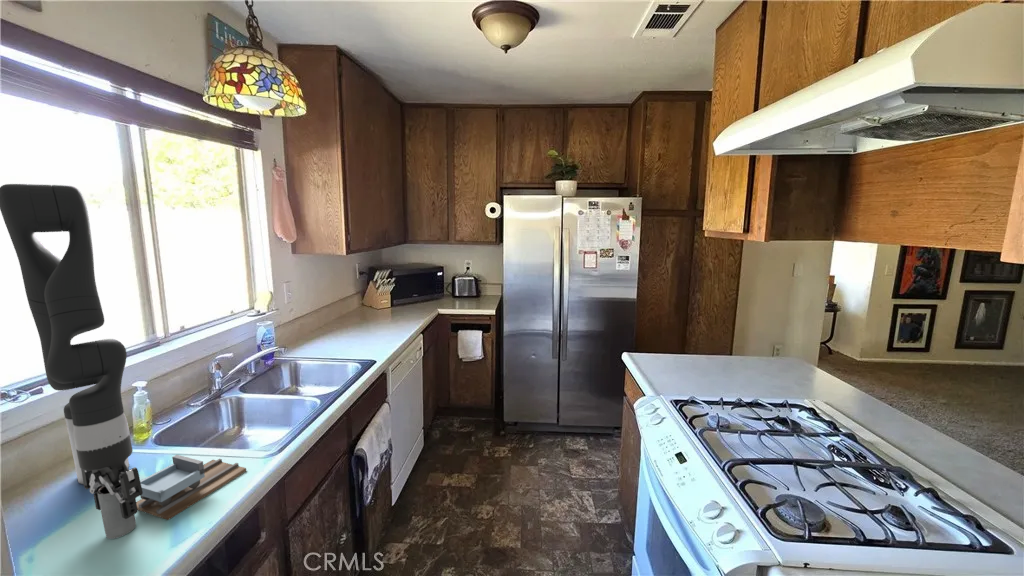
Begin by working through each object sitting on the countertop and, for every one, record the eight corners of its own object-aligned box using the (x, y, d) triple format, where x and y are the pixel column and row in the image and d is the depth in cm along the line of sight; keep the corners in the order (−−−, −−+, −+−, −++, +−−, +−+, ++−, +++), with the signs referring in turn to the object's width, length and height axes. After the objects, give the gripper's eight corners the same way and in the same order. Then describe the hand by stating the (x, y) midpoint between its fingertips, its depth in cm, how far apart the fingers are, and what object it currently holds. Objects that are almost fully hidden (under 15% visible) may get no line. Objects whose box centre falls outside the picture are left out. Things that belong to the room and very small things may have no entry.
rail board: (131, 507, 89) (130, 501, 88) (213, 462, 106) (212, 456, 105) (167, 520, 85) (166, 513, 85) (246, 470, 102) (245, 465, 102)
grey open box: (135, 501, 88) (131, 477, 87) (180, 476, 97) (176, 454, 96) (162, 510, 85) (158, 485, 84) (206, 484, 94) (202, 461, 93)
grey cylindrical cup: (117, 540, 80) (108, 495, 78) (100, 537, 80) (91, 492, 79) (142, 524, 84) (134, 480, 82) (125, 521, 85) (117, 478, 83)
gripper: (148, 434, 80) (161, 506, 82) (105, 424, 84) (118, 493, 87) (101, 455, 73) (116, 532, 75) (56, 442, 77) (71, 516, 80)
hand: (117, 511), depth 81 cm, fingers open, 8 cm apart
